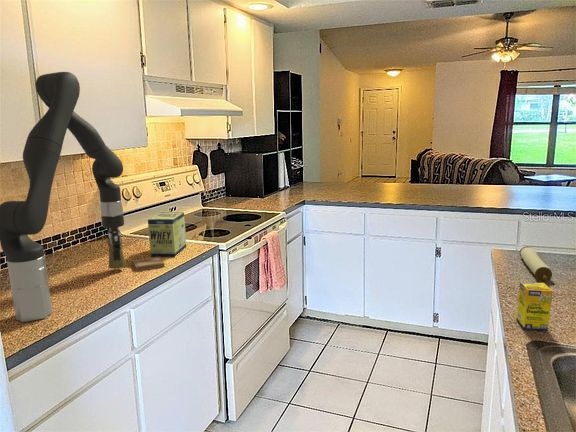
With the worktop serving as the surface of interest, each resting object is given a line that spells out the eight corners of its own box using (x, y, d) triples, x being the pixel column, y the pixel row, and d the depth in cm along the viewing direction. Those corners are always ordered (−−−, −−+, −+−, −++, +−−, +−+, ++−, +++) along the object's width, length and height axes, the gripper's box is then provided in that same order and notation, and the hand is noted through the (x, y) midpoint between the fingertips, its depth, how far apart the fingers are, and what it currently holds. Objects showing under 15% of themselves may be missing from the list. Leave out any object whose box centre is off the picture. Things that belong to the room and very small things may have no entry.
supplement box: (523, 330, 115) (527, 289, 113) (515, 320, 121) (519, 281, 119) (548, 331, 114) (553, 290, 112) (539, 321, 120) (543, 282, 118)
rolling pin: (516, 255, 176) (517, 243, 175) (532, 256, 175) (534, 244, 174) (535, 285, 146) (537, 270, 145) (555, 286, 145) (557, 271, 143)
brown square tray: (164, 267, 171) (164, 262, 170) (136, 271, 166) (136, 267, 166) (159, 260, 179) (159, 256, 179) (133, 264, 175) (132, 259, 175)
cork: (120, 268, 164) (117, 239, 162) (105, 268, 165) (102, 238, 163) (129, 263, 170) (126, 235, 168) (114, 263, 171) (111, 234, 169)
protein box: (150, 257, 184) (147, 219, 180) (163, 246, 199) (160, 211, 195) (175, 257, 183) (172, 219, 179) (186, 246, 198) (184, 211, 195)
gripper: (99, 211, 168) (104, 255, 172) (102, 217, 156) (107, 265, 159) (120, 209, 171) (124, 252, 175) (125, 215, 159) (129, 262, 162)
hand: (116, 258), depth 167 cm, fingers closed on cork, 4 cm apart
